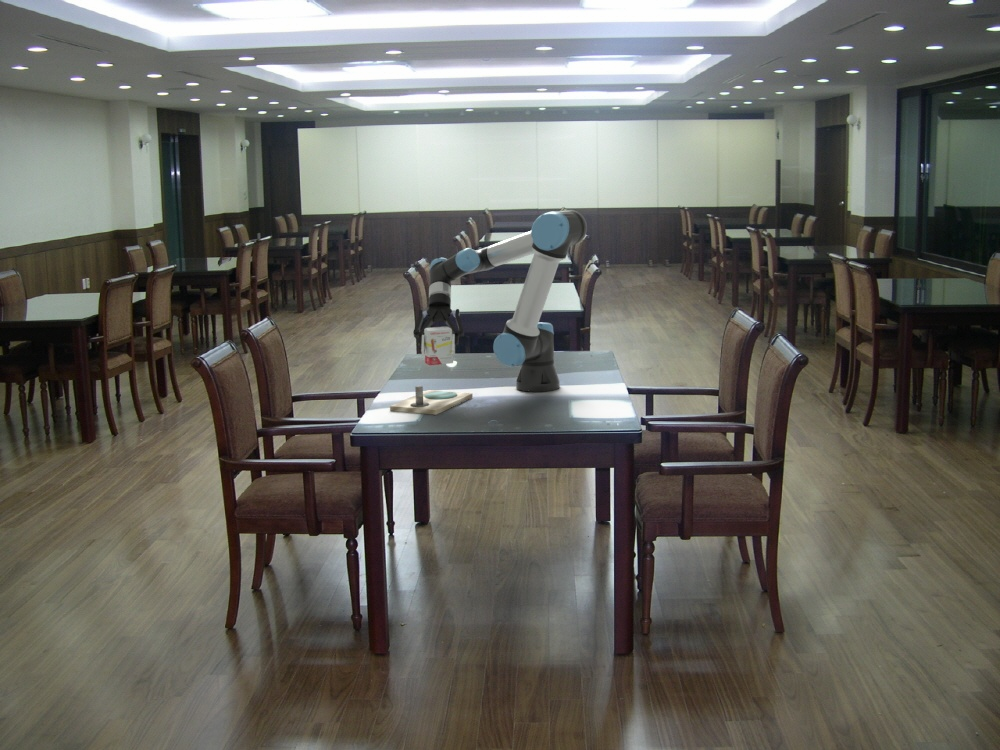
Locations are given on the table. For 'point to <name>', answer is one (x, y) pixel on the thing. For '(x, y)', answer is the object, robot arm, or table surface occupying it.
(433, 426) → the table surface
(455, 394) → the board
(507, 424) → the table surface
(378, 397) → the table surface
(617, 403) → the table surface
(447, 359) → the ink box
